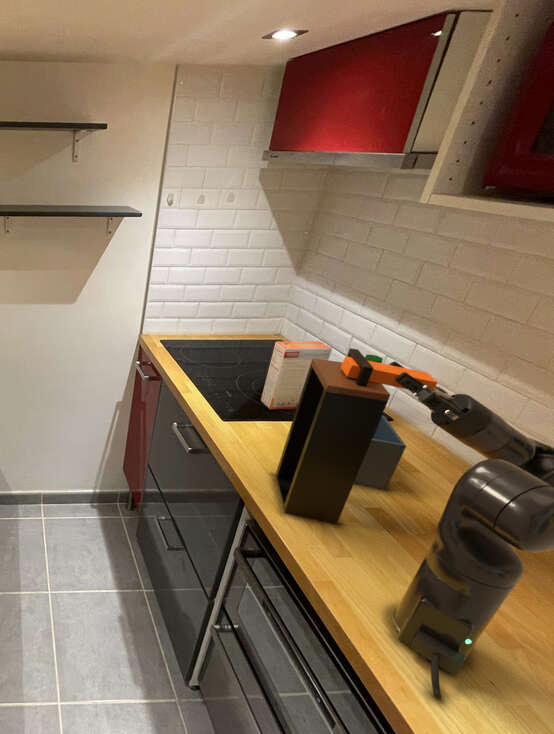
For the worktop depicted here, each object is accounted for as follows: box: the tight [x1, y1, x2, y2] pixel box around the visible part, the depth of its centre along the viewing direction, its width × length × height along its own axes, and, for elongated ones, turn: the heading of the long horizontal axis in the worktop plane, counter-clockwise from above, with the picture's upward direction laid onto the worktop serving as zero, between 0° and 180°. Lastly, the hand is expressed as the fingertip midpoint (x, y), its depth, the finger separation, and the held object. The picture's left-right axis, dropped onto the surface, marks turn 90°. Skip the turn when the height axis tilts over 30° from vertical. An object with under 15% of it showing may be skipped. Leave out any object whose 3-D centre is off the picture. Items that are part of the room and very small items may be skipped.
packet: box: [341, 355, 438, 390], centre depth 86 cm, size 14×4×3 cm, turn 71°
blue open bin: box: [354, 415, 407, 490], centre depth 110 cm, size 13×13×13 cm
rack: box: [274, 348, 391, 525], centre depth 95 cm, size 10×13×36 cm
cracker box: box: [260, 340, 333, 410], centre depth 136 cm, size 14×6×21 cm, turn 92°
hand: (395, 370), depth 86 cm, fingers closed on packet, 4 cm apart
